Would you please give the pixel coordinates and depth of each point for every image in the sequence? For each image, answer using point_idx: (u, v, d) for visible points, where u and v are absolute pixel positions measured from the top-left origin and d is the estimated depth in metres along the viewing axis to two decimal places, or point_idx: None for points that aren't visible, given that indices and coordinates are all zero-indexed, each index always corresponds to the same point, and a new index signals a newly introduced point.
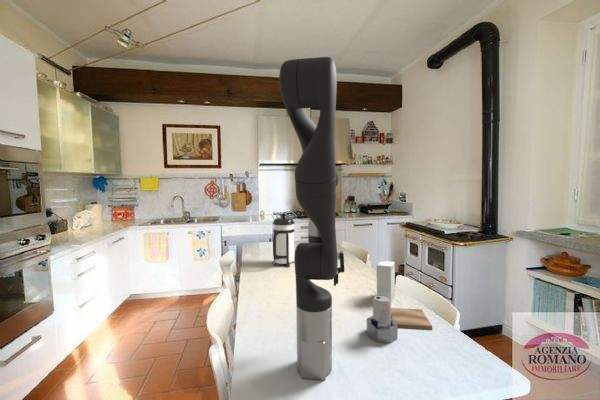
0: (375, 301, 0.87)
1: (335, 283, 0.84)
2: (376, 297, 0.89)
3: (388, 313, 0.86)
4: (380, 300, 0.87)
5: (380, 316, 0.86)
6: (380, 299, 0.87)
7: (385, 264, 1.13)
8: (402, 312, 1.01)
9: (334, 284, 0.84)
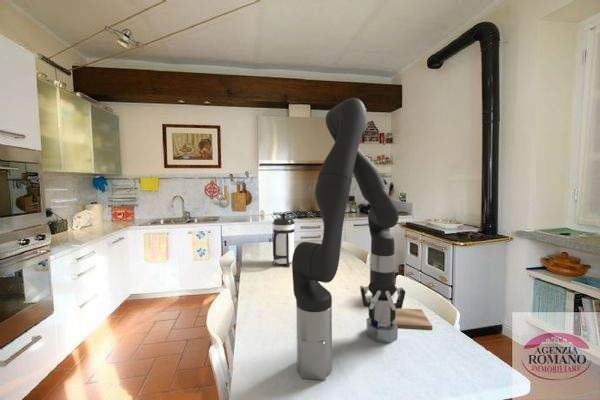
0: None
1: (392, 319, 0.87)
2: None
3: (388, 313, 0.86)
4: (380, 300, 0.87)
5: (380, 316, 0.86)
6: None
7: None
8: (402, 312, 1.01)
9: (391, 320, 0.87)
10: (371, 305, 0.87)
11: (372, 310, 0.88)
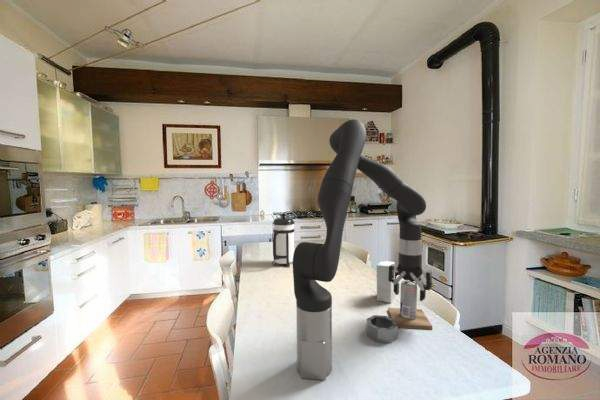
0: (401, 284, 0.98)
1: (421, 298, 0.94)
2: (404, 282, 0.99)
3: (412, 297, 0.95)
4: (405, 284, 0.97)
5: (404, 298, 0.96)
6: (406, 284, 0.97)
7: (385, 264, 1.13)
8: None
9: (420, 299, 0.94)
10: (395, 281, 0.99)
11: (396, 285, 0.99)
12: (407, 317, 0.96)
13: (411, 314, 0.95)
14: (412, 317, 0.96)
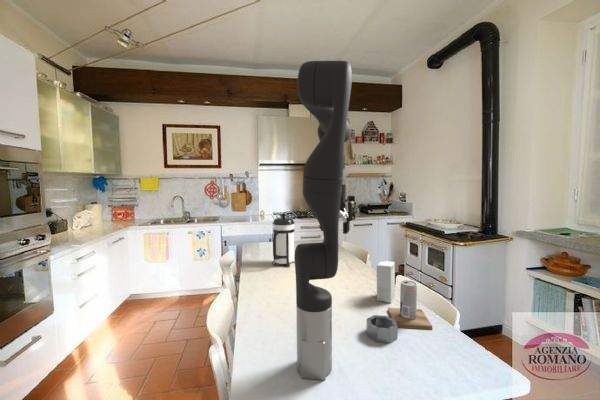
0: (401, 284, 0.98)
1: (344, 231, 0.89)
2: (404, 282, 0.99)
3: (411, 297, 0.95)
4: (405, 284, 0.97)
5: (404, 298, 0.96)
6: (406, 283, 0.97)
7: (385, 264, 1.13)
8: None
9: (343, 232, 0.89)
10: None
11: None
12: (407, 317, 0.96)
13: (411, 314, 0.95)
14: (412, 317, 0.96)
